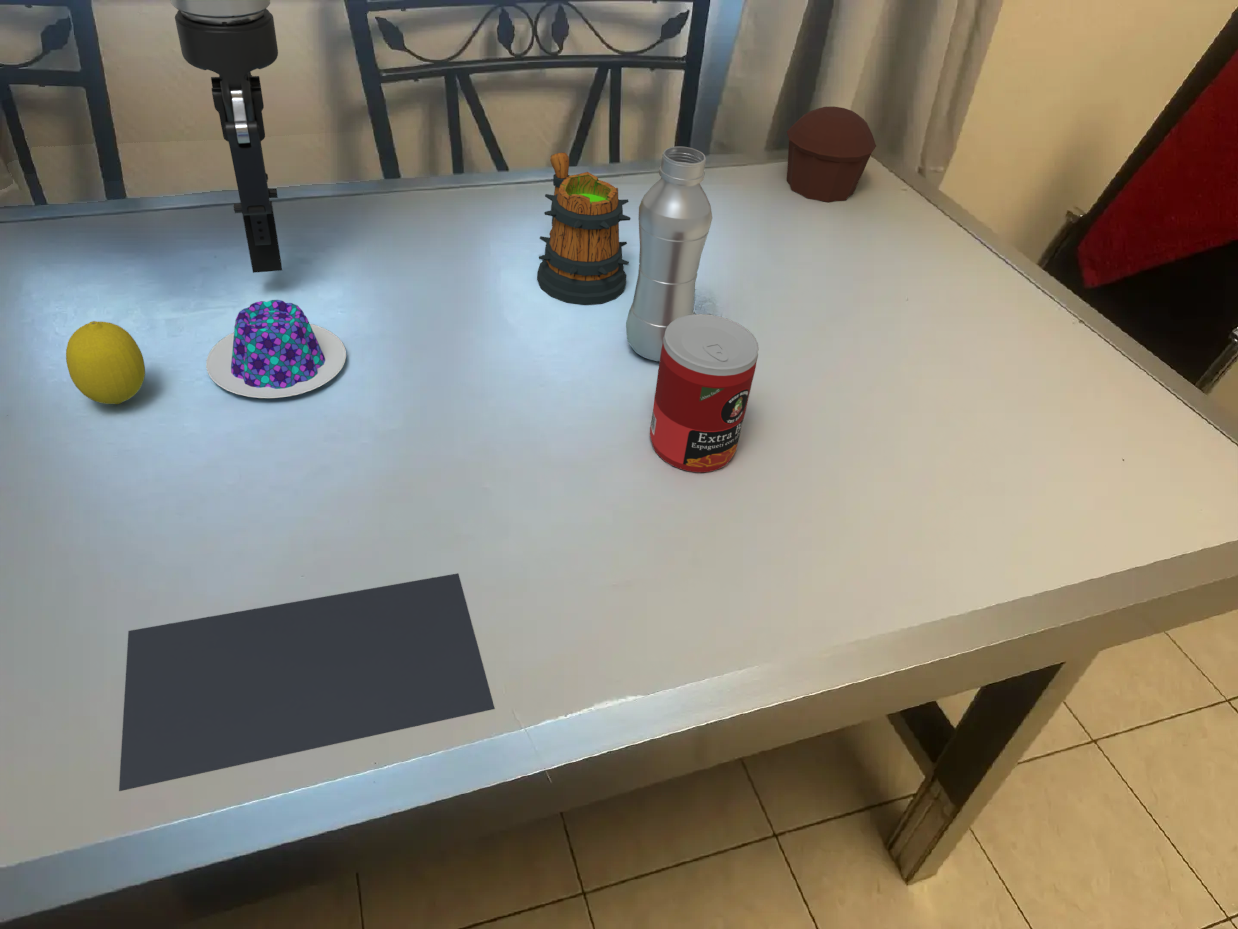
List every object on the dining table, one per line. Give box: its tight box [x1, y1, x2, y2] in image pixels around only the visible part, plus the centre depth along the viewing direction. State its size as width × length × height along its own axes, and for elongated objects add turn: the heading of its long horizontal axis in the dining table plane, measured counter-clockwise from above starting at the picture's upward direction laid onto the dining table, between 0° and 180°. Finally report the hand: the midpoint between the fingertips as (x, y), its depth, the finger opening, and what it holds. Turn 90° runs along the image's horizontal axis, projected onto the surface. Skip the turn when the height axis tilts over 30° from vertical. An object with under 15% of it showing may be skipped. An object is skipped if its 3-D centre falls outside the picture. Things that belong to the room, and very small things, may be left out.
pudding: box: [205, 299, 347, 399], centre depth 85 cm, size 12×12×5 cm
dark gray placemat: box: [118, 573, 496, 792], centre depth 62 cm, size 22×12×1 cm, turn 108°
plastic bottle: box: [625, 146, 713, 362], centre depth 87 cm, size 6×7×20 cm
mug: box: [536, 152, 632, 306], centre depth 100 cm, size 13×10×12 cm
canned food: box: [649, 313, 760, 473], centre depth 80 cm, size 8×8×11 cm
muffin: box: [786, 105, 877, 203], centre depth 123 cm, size 12×11×10 cm
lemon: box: [65, 320, 146, 405], centre depth 78 cm, size 6×6×8 cm
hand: (267, 267), depth 92 cm, fingers closed
